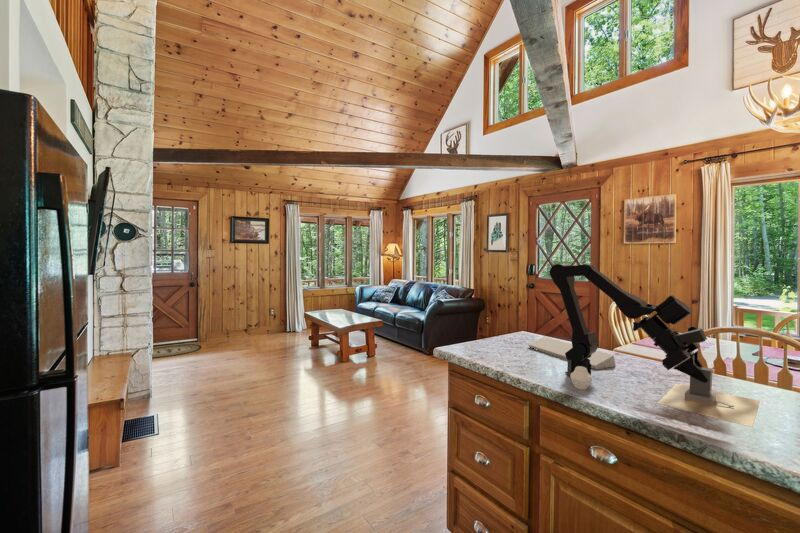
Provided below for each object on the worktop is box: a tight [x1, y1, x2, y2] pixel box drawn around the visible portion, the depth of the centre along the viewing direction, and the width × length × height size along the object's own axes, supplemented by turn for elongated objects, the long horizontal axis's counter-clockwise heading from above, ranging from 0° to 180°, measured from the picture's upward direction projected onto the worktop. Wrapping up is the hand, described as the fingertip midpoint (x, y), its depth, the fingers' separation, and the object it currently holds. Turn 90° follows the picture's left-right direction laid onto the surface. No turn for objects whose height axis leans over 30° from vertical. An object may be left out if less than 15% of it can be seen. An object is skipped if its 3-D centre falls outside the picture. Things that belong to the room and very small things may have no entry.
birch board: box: [657, 383, 760, 428], centre depth 104 cm, size 20×24×2 cm
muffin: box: [569, 366, 593, 391], centre depth 119 cm, size 6×6×7 cm
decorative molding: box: [528, 336, 616, 370], centre depth 155 cm, size 34×5×10 cm
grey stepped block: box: [684, 366, 716, 406], centre depth 105 cm, size 6×6×9 cm
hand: (707, 380), depth 104 cm, fingers closed on grey stepped block, 3 cm apart
